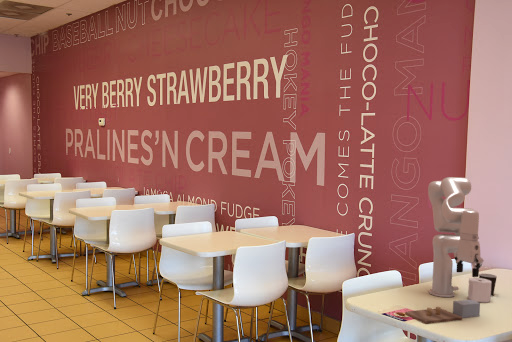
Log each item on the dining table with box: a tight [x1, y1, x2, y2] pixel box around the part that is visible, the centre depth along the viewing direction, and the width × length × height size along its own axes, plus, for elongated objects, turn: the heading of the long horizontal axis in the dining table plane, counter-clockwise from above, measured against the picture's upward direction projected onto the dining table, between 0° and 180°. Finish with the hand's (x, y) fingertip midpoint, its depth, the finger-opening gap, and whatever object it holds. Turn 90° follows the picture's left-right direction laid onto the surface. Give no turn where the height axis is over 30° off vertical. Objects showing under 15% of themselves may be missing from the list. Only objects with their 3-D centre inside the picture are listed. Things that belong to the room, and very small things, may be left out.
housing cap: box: [452, 299, 481, 319], centre depth 241 cm, size 10×6×6 cm, turn 112°
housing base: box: [404, 306, 463, 325], centre depth 236 cm, size 20×14×4 cm
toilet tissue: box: [467, 277, 492, 303], centre depth 267 cm, size 11×12×10 cm
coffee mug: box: [478, 273, 497, 296], centre depth 281 cm, size 12×9×10 cm
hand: (467, 274), depth 240 cm, fingers open, 9 cm apart
